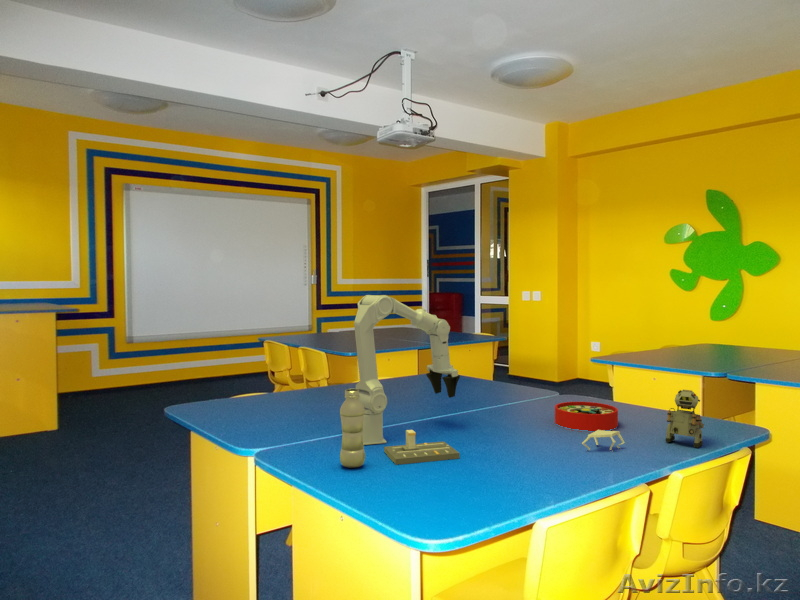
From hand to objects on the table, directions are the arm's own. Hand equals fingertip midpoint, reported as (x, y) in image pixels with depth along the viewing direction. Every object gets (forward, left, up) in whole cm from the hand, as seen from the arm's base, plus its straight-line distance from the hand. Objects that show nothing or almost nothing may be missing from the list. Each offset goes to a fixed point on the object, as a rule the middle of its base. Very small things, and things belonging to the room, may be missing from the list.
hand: (444, 394), depth 190 cm
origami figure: (+33, -38, -11) cm, 51 cm away
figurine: (+60, -40, -11) cm, 73 cm away
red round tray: (+46, -12, -11) cm, 48 cm away
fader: (-21, -28, -9) cm, 36 cm away
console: (-18, -28, -11) cm, 35 cm away
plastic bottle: (-38, -32, -11) cm, 51 cm away
